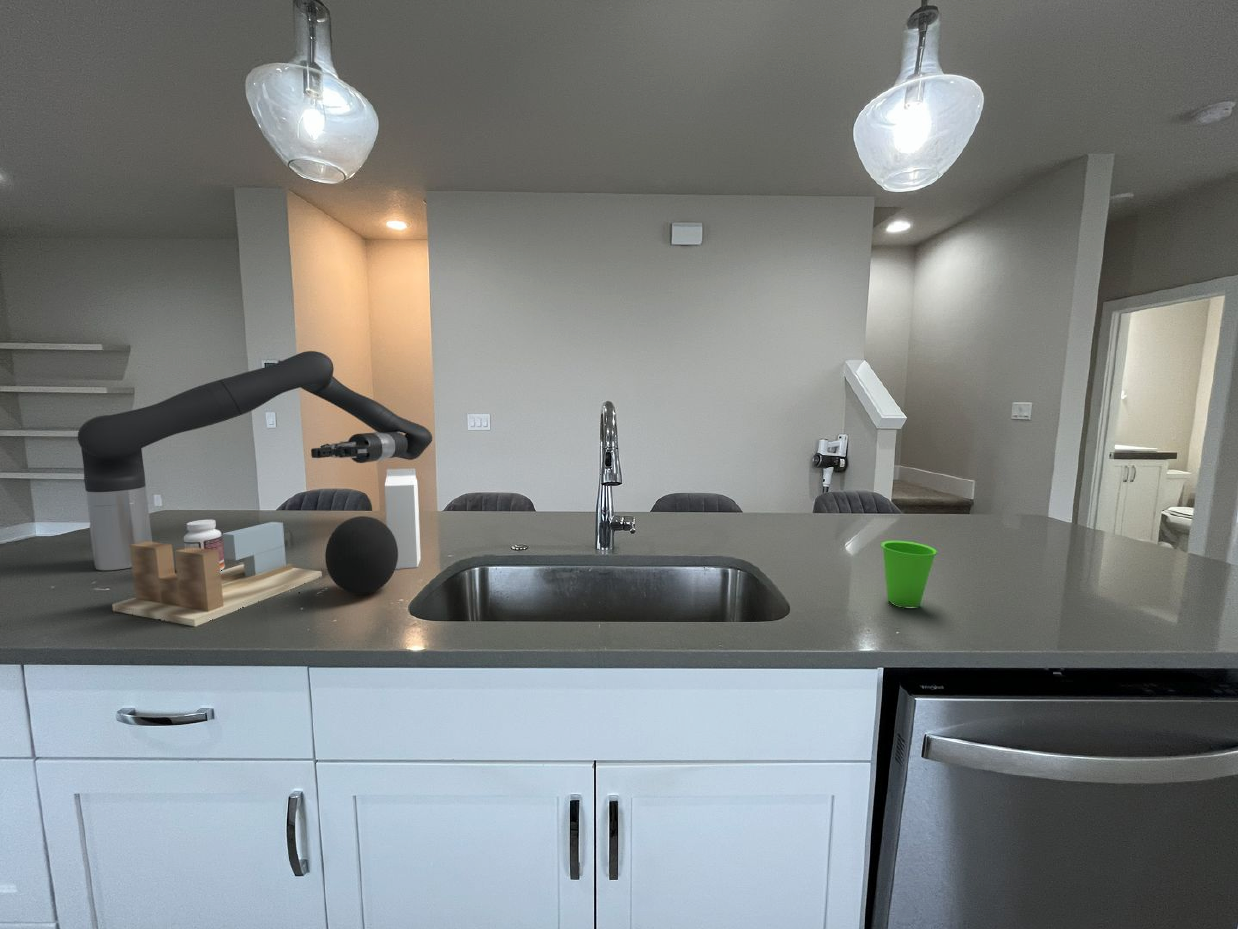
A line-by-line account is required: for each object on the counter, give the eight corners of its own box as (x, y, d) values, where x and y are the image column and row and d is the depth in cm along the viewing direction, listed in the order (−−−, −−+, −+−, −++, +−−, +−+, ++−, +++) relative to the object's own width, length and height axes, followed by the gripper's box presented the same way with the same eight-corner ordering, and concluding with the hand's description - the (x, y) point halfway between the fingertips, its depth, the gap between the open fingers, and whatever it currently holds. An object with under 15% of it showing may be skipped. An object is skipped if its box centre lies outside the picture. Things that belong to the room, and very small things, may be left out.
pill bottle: (225, 565, 109) (220, 517, 107) (225, 572, 104) (220, 522, 103) (188, 570, 105) (182, 521, 104) (186, 579, 100) (181, 527, 99)
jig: (113, 610, 85) (105, 548, 83) (250, 567, 108) (246, 517, 106) (195, 626, 79) (188, 560, 78) (321, 576, 102) (318, 525, 101)
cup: (924, 598, 94) (929, 543, 93) (938, 617, 86) (943, 557, 84) (872, 591, 97) (877, 538, 96) (881, 609, 89) (886, 551, 87)
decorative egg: (365, 609, 86) (360, 527, 85) (312, 600, 90) (306, 521, 88) (413, 584, 98) (410, 512, 96) (364, 578, 102) (360, 508, 100)
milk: (417, 568, 108) (413, 470, 106) (388, 570, 107) (383, 471, 104) (420, 559, 114) (417, 466, 111) (392, 561, 113) (388, 467, 110)
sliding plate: (226, 583, 95) (222, 533, 93) (275, 567, 104) (271, 521, 103) (238, 585, 94) (233, 535, 93) (286, 568, 103) (282, 522, 102)
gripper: (350, 432, 128) (290, 436, 112) (392, 433, 124) (336, 437, 108) (352, 460, 129) (292, 468, 113) (393, 462, 125) (338, 471, 109)
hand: (314, 453), depth 110 cm, fingers closed
